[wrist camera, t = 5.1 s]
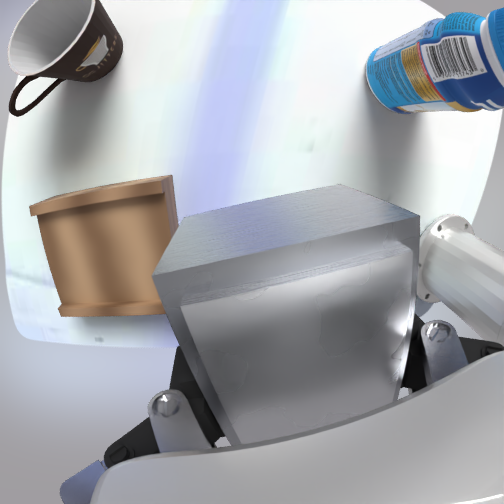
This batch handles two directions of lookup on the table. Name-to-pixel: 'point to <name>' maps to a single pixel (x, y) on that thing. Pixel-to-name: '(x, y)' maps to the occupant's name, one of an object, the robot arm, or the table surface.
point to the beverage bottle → (442, 66)
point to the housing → (293, 307)
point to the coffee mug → (62, 45)
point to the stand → (108, 245)
